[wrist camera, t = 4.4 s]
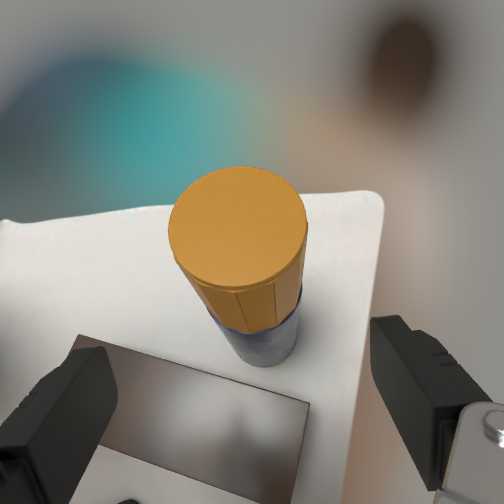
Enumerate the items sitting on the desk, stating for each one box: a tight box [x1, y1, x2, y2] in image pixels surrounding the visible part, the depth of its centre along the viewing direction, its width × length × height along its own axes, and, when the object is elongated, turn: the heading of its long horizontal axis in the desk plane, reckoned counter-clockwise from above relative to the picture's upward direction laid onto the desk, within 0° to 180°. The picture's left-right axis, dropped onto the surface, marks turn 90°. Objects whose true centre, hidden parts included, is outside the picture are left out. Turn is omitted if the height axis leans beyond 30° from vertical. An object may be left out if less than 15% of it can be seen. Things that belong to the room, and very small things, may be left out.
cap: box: [168, 166, 308, 333], centre depth 19 cm, size 6×6×8 cm
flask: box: [205, 284, 302, 367], centre depth 28 cm, size 7×7×18 cm
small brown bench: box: [67, 334, 310, 504], centre depth 30 cm, size 20×7×7 cm, turn 74°
